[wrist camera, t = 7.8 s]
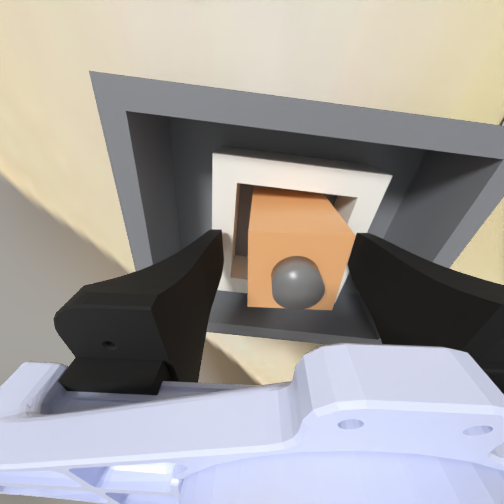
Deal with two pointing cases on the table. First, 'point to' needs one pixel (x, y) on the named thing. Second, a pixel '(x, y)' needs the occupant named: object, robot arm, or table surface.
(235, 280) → the bay
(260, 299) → the plug
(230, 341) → the table surface
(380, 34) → the table surface
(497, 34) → the table surface
